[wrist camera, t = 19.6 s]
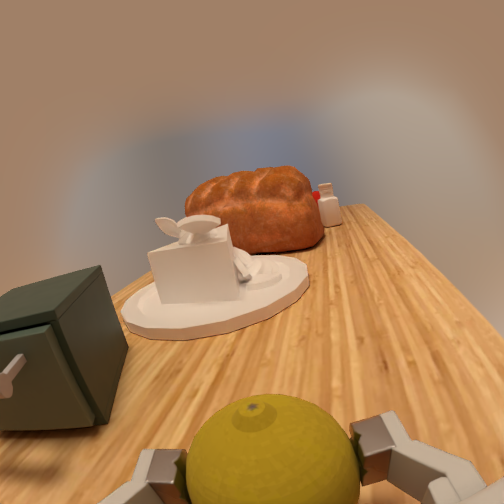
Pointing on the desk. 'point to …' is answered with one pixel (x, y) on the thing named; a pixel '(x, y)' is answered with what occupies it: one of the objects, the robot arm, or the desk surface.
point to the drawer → (38, 383)
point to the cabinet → (76, 329)
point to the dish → (210, 284)
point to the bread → (261, 209)
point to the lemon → (272, 455)
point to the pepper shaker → (328, 206)
